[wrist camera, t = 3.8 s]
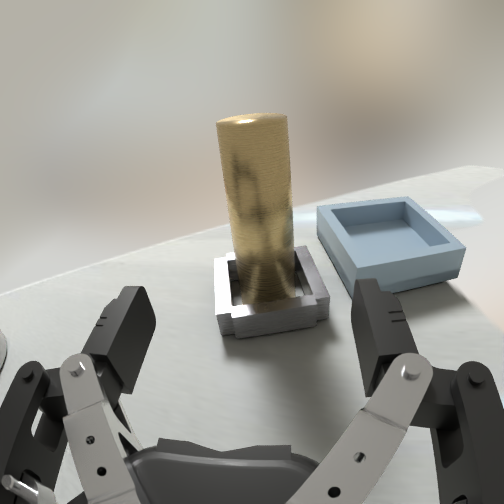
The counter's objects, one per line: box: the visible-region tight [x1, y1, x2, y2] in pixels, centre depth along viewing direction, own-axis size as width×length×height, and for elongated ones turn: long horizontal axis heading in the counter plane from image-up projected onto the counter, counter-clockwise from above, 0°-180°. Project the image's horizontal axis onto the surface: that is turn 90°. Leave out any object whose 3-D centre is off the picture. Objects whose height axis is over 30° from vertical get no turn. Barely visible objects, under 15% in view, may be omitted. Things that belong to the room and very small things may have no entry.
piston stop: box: [216, 113, 295, 305], centre depth 21 cm, size 4×4×13 cm
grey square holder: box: [214, 246, 330, 339], centre depth 24 cm, size 7×7×2 cm
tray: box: [317, 197, 466, 300], centre depth 26 cm, size 10×10×3 cm
